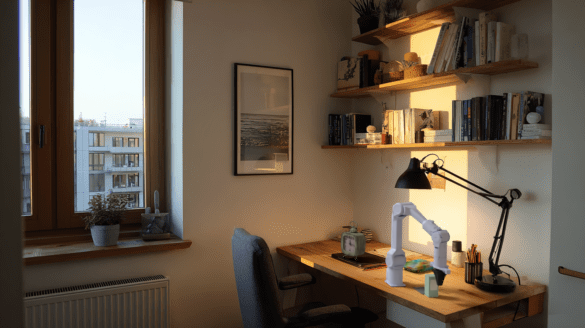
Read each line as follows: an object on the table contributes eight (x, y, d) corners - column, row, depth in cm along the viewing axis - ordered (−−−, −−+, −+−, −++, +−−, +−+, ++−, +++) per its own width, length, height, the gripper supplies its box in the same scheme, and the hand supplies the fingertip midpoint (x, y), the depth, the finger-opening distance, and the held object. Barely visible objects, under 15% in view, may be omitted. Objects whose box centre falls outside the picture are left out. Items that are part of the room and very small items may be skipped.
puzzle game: (436, 261, 247) (414, 266, 236) (436, 269, 247) (414, 274, 236) (420, 257, 257) (398, 262, 245) (420, 265, 257) (398, 269, 246)
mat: (412, 287, 212) (412, 287, 212) (425, 287, 213) (425, 286, 213) (422, 294, 202) (422, 293, 202) (435, 293, 203) (435, 293, 203)
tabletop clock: (340, 258, 270) (341, 220, 269) (350, 256, 276) (351, 218, 275) (356, 263, 259) (357, 223, 258) (366, 261, 264) (367, 221, 263)
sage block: (424, 294, 202) (424, 274, 202) (434, 294, 203) (434, 273, 203) (428, 297, 198) (429, 276, 197) (438, 297, 199) (439, 276, 198)
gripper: (456, 260, 186) (456, 290, 186) (440, 252, 200) (439, 280, 201) (442, 260, 185) (441, 290, 185) (426, 252, 199) (425, 280, 199)
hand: (439, 285), depth 193 cm, fingers closed
